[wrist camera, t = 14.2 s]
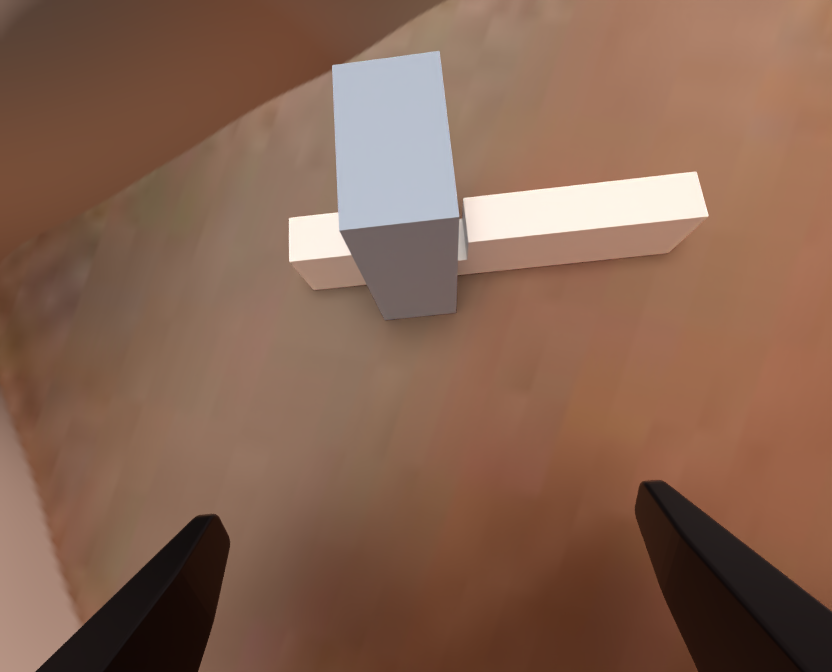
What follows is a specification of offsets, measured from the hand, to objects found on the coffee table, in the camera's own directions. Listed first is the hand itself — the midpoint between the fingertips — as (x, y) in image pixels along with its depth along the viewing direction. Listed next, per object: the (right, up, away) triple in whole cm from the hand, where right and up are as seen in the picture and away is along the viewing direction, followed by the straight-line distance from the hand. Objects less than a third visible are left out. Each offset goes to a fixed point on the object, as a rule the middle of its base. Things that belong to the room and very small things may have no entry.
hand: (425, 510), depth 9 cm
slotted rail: (+4, +8, +16) cm, 19 cm away
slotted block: (0, +8, +16) cm, 18 cm away
